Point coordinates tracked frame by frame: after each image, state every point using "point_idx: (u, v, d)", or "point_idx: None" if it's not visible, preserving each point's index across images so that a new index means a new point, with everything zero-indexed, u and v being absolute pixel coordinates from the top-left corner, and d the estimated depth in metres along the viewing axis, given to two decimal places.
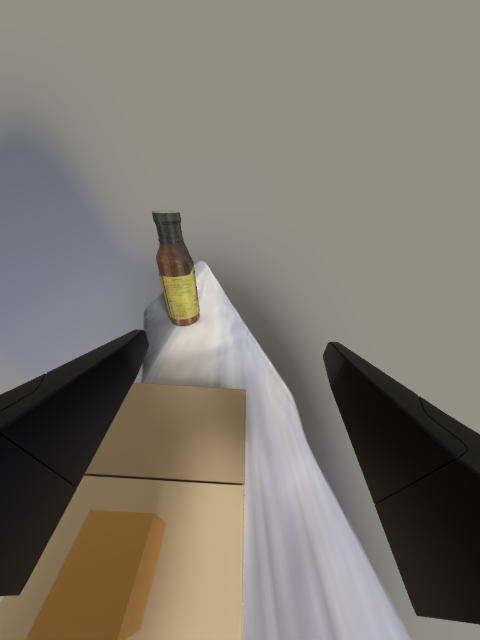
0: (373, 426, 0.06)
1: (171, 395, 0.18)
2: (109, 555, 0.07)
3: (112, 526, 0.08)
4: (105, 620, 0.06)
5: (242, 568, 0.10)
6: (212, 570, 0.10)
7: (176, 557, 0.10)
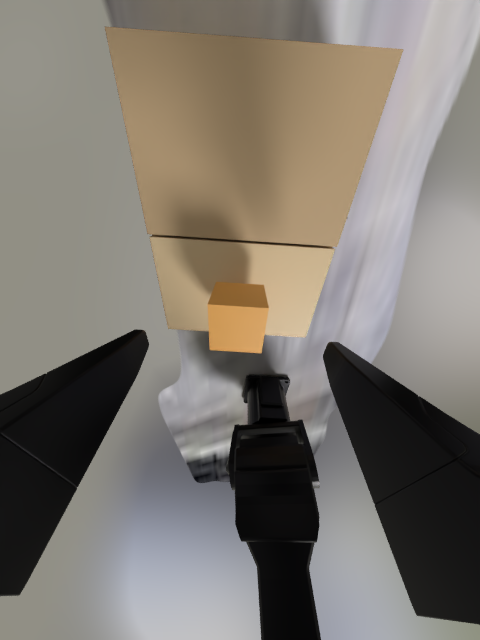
0: (373, 426, 0.06)
1: (217, 81, 0.08)
2: (240, 327, 0.09)
3: (234, 314, 0.09)
4: (251, 346, 0.10)
5: None
6: (296, 297, 0.13)
7: (269, 291, 0.13)
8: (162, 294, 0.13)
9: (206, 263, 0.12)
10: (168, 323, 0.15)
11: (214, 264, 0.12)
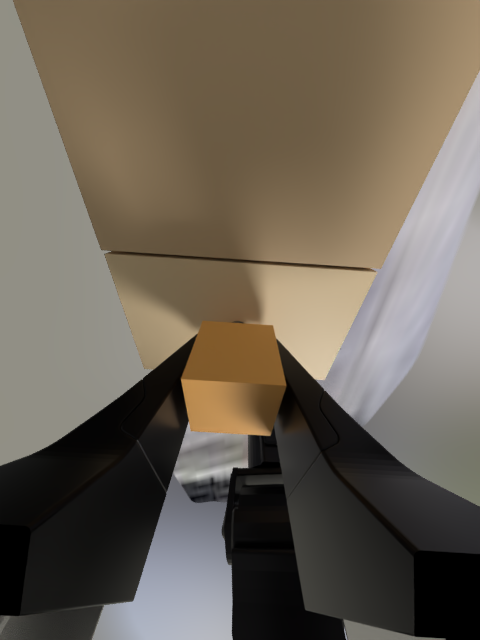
0: (285, 421, 0.06)
1: None
2: (238, 407, 0.06)
3: (227, 391, 0.05)
4: (255, 429, 0.06)
5: None
6: (316, 334, 0.10)
7: (279, 326, 0.09)
8: (132, 329, 0.10)
9: (190, 290, 0.08)
10: (144, 362, 0.11)
11: (201, 291, 0.08)
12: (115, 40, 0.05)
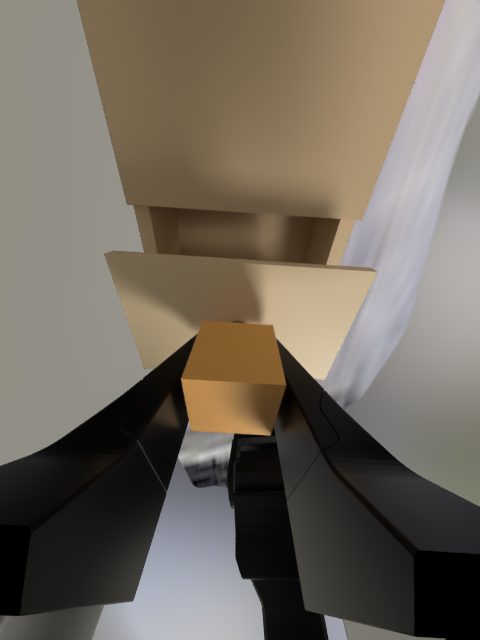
0: (285, 421, 0.06)
1: None
2: (238, 407, 0.06)
3: (227, 391, 0.05)
4: (255, 429, 0.06)
5: None
6: (316, 334, 0.10)
7: (279, 326, 0.09)
8: (132, 329, 0.10)
9: (190, 290, 0.08)
10: (144, 362, 0.11)
11: (201, 291, 0.08)
12: (150, 22, 0.06)
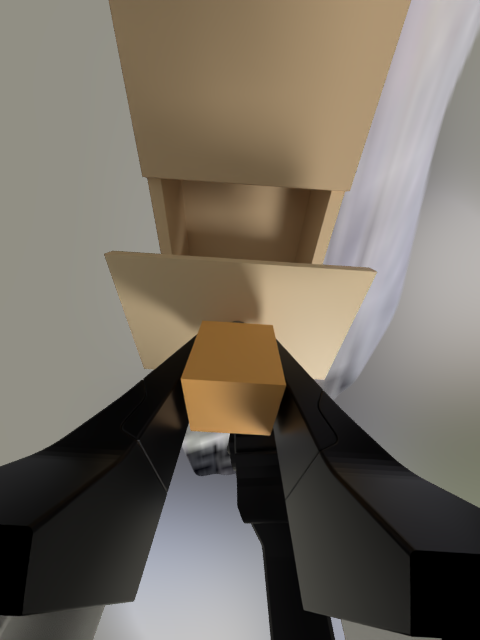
0: (284, 421, 0.06)
1: None
2: (238, 407, 0.06)
3: (227, 391, 0.05)
4: (255, 428, 0.06)
5: (325, 252, 0.13)
6: (315, 333, 0.10)
7: (278, 326, 0.09)
8: (131, 329, 0.10)
9: (189, 290, 0.08)
10: (143, 362, 0.11)
11: (201, 291, 0.08)
12: (168, 13, 0.07)
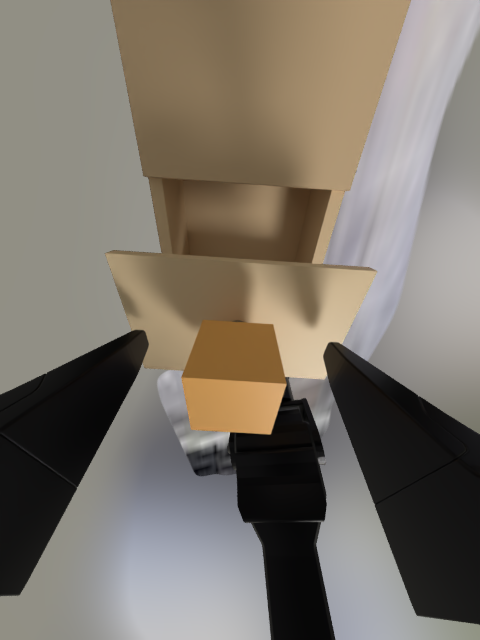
0: (373, 426, 0.06)
1: None
2: (238, 406, 0.06)
3: (227, 390, 0.05)
4: (255, 427, 0.06)
5: (325, 251, 0.13)
6: (316, 333, 0.10)
7: (279, 326, 0.09)
8: (132, 328, 0.10)
9: (190, 289, 0.08)
10: (144, 362, 0.11)
11: (201, 291, 0.08)
12: (169, 14, 0.07)
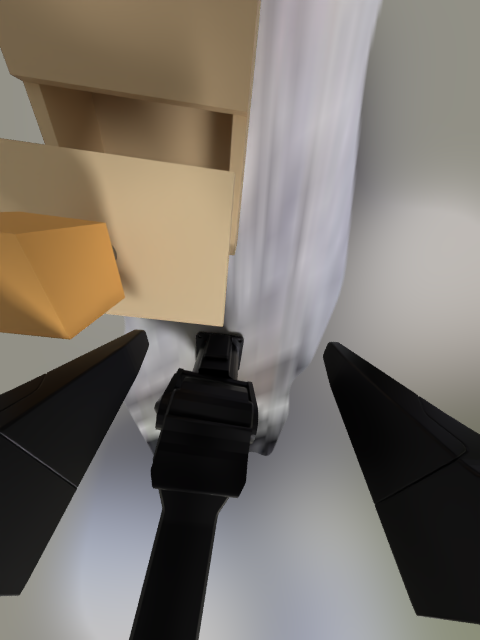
0: (373, 426, 0.06)
1: None
2: None
3: None
4: (43, 326, 0.05)
5: (239, 194, 0.12)
6: (193, 261, 0.09)
7: (148, 248, 0.08)
8: None
9: (27, 188, 0.07)
10: None
11: (41, 191, 0.07)
12: None
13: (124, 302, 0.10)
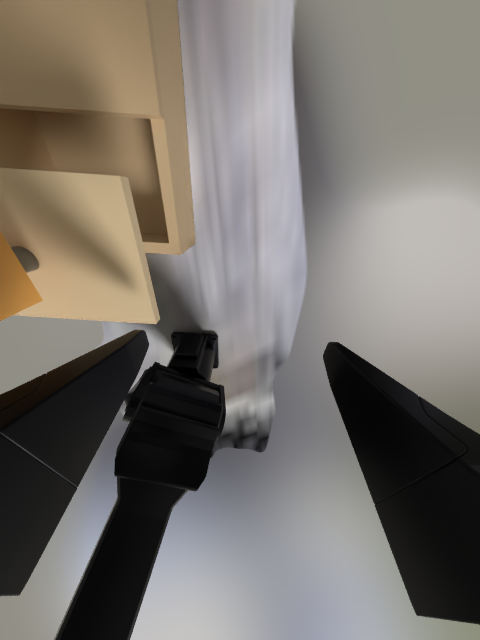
0: (373, 426, 0.06)
1: None
2: None
3: None
4: None
5: (172, 195, 0.12)
6: (109, 262, 0.09)
7: (64, 253, 0.09)
8: None
9: None
10: None
11: None
12: None
13: (59, 305, 0.10)
